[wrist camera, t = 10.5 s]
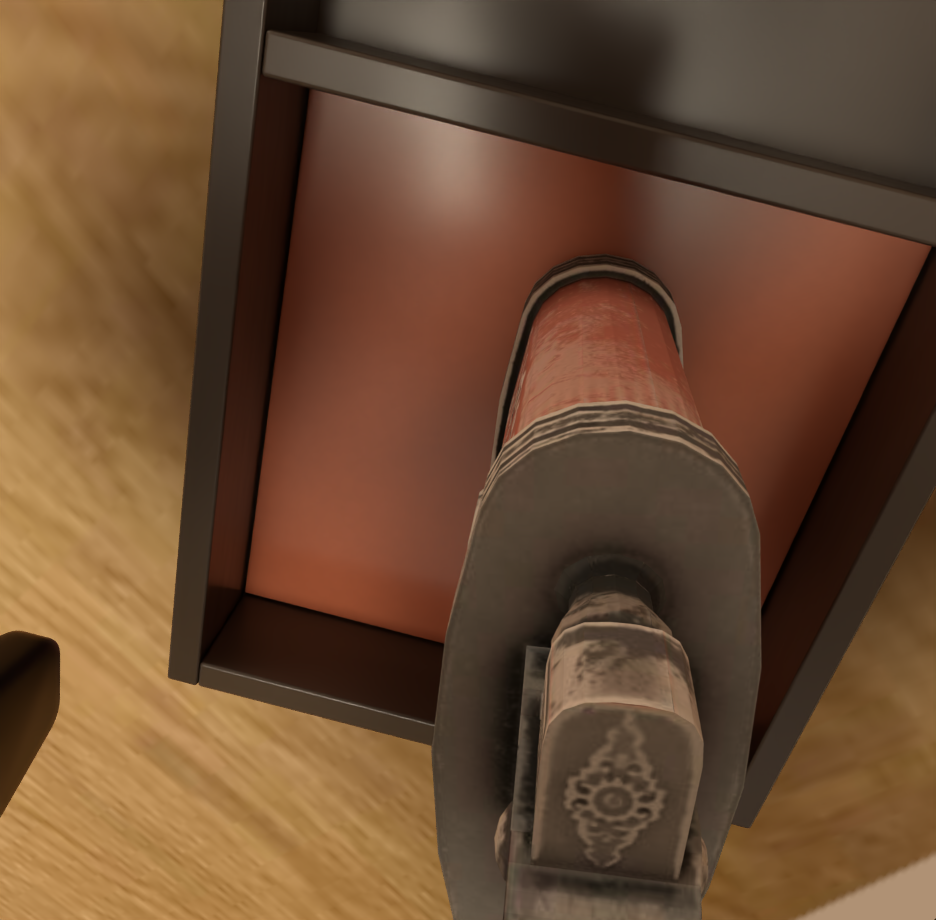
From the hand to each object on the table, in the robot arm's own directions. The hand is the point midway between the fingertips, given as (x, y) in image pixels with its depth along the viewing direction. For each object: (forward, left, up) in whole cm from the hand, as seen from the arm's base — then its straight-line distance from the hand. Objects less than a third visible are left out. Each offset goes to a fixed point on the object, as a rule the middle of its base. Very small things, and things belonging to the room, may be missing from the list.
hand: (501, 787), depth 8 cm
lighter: (-1, 0, -9) cm, 9 cm away
